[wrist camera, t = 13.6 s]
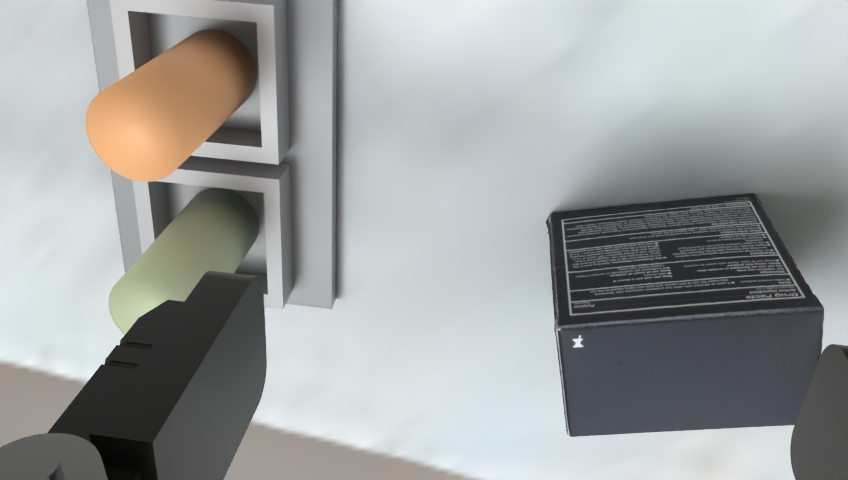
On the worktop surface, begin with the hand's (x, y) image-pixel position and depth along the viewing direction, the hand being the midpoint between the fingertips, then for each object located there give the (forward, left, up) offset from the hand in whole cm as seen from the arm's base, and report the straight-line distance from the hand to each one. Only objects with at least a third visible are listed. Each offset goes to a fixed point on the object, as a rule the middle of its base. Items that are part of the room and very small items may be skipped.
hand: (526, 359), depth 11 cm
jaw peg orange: (+5, -15, -27) cm, 31 cm away
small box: (+13, +8, -28) cm, 32 cm away
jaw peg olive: (+13, -15, -27) cm, 34 cm away
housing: (+9, -15, -28) cm, 33 cm away
